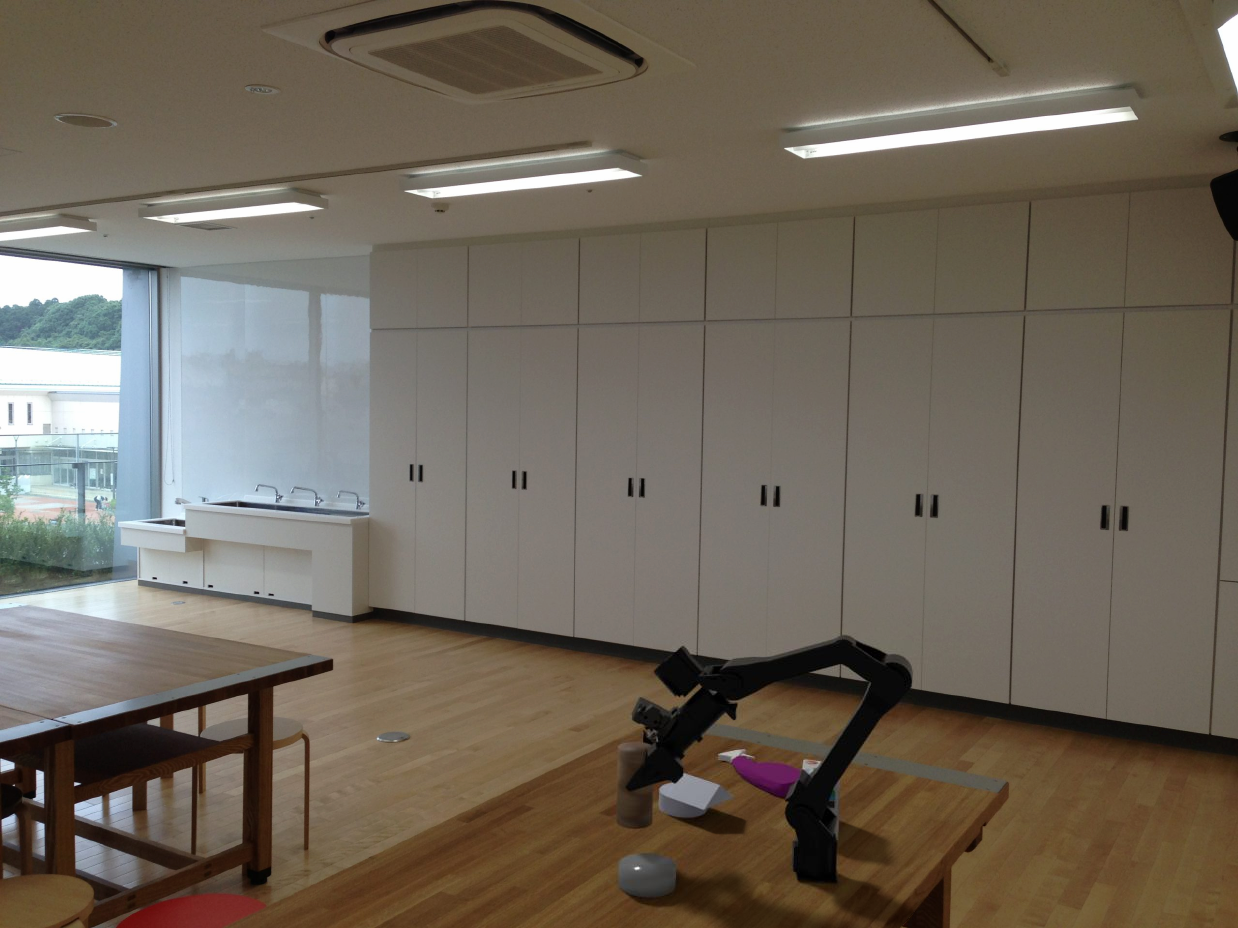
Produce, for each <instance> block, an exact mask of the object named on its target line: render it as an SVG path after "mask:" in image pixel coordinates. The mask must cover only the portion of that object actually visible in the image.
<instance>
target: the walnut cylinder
mask: <svg viewBox="0 0 1238 928" xmlns="http://www.w3.org/2000/svg"><path fill="white" fill-rule="evenodd" d="M650 746H651V745H650V744H647V743H642V741H641V742H640V741H627V742H623V743H621V744H619V745H618V746H617V764H616V765H617V767H616V768H617V769H616V776H617V777H616V817H615V818H616V820H615V822H616V824H617V825H618V826H620V827H623V828H626V829H632V830H637V829H638V830H639V829H646V828H648V827H650V826H651V825H652V824H653V814H654V813H653V809H654V808H653V806H654V805H653V803H654V784H652V785H649V786H646V787H643V788H640V789H637V790H634V791H631V792H629V791H628V790H627V789H626V787H625V786H626V785H627V783H628V782H629V781H630V779H631V778H632V777H633V775H634V774H635V773H636V771H637V770H638V769H639V768H640V766H641V765H642V764H643V762H644V754H645V748H646V750H647V751H648V749H649V748H650Z"/></svg>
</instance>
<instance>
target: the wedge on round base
mask: <svg viewBox="0 0 1238 928" xmlns="http://www.w3.org/2000/svg"><path fill="white" fill-rule="evenodd" d="M658 794H659V795H658V809H659V811H660V812H661V811H662V812H661V813H663V812H664V813H663V814H665V815H667V814H668V815H667V816H670V815H671V817H676V818H686V819H687V818H696V817H699V816H703V815H705V814H706V813H707V811H708V809H710V808H712V807H714V806H716V805H719V804H722V803H723V802H726V801H728V800H731V799H733V798H735V796H733V794H731V793H730V792H729V791H727V790H726V789H725V788H724V787H723V786H722V785H720V784H717V783H715V782H711V781H709V780H705V779H702V778H701V777H698V776H697V777H696V776H693V775H691V774H687V773H685V772H683V777H682V778H681V779H680V780H679V781H678V782H677V783H676V784H674V783H673V782H668V783H665V784H663V785H661V786H660V787H659V789H658Z"/></svg>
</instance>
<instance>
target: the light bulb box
mask: <svg viewBox="0 0 1238 928" xmlns="http://www.w3.org/2000/svg"><path fill="white" fill-rule="evenodd" d="M821 761H822V760H814V759H803V762H802V769H804V770H805V771H806V772H807V773H808V774H810V773H811V772H813V771H814V770H815V769H816V768H817V767H818V766H819V764H820V763H821ZM802 769H801V770H802ZM840 782H841V781H840V780H839V781H838V783H837V784H836V786H835V787H834V790H833V792H832V795H831V797H830V800H829V802H828V805H827V806H828V807H829V808H830V809H831V810H832V811H833V813H834V814H835V815H836V816H837V822H836V827H835V831H834V833H835V835H836V838H837V842H838V840H839V828H840V827H839V826H840V791H841V790H840V785H841V783H840Z"/></svg>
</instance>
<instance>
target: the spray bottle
mask: <svg viewBox="0 0 1238 928" xmlns="http://www.w3.org/2000/svg"><path fill="white" fill-rule="evenodd" d="M717 756H718V757H717V758H718V759H717V760H718V761H724V762H727V763H729V764H731V765H732V766H733V768H734V769H735V770H736V771H737V773H738V774H739V776H740V777H741V778H743V779H744V780H745V781H746V782H748V783H750V784H751V785H753V786H754V787H756V788H758V789H760V790H762V791H764V792H766V793H768V794H770V795H773V796H776V797H779V798H786V796H787V794H788V791H789V788H790V786H791V785H793V784H795V782H796V781H797V780H798V778H799V776H800V773H801V771H802V769H801V770H800V769H798V768H797V767H794V766H792V765H789V764H786V763H782V762H781V763H780V762H772V761H771V762H767V761H764V762H762V761H761V762H755V761H754V760H755V759H756V757H755V756H752V755H749V754H747V750H746V749H744V748H743V749H736V750H730V751H724V752H721V753H718V754H717Z"/></svg>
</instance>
